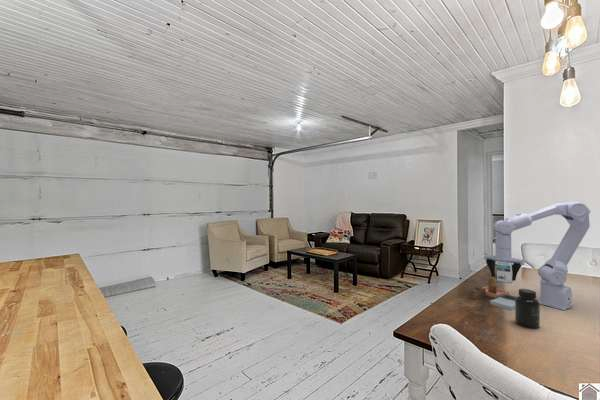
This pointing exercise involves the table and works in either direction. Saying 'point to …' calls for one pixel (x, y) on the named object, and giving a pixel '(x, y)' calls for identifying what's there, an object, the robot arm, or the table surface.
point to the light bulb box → (504, 272)
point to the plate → (503, 303)
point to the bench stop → (477, 293)
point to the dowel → (492, 285)
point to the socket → (507, 297)
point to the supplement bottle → (527, 309)
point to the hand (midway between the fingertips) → (503, 278)
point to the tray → (499, 293)
